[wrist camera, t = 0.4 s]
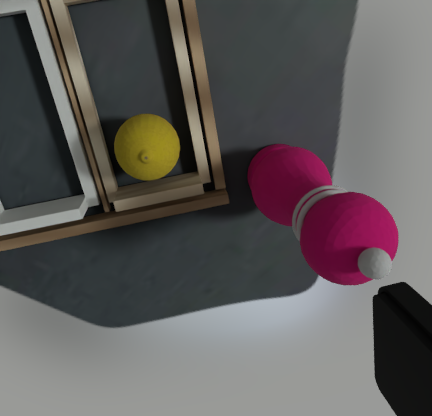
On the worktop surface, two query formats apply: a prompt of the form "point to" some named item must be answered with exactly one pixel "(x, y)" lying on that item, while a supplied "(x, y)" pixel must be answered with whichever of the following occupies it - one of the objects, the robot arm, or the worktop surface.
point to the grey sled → (76, 205)
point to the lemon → (147, 147)
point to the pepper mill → (324, 215)
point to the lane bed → (107, 218)
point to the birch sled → (122, 195)
